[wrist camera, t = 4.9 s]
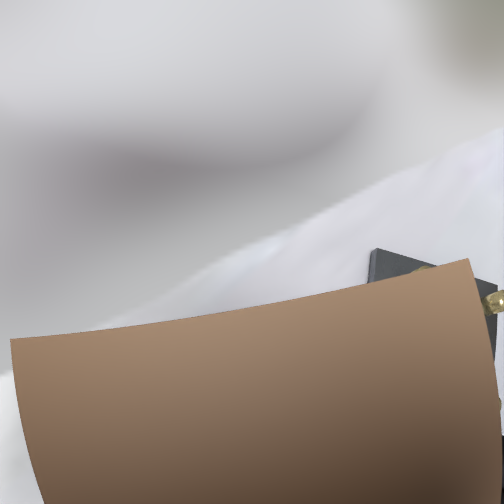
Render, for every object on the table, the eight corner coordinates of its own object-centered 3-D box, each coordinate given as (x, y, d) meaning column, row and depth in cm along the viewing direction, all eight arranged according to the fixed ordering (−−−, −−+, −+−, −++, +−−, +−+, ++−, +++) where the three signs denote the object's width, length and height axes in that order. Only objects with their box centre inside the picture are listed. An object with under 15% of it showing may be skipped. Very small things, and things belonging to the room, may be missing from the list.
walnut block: (302, 439, 14) (489, 574, 2) (201, 459, 13) (144, 666, 1) (282, 344, 15) (468, 258, 3) (180, 362, 15) (10, 338, 2)
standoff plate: (474, 434, 19) (507, 438, 15) (340, 433, 18) (365, 445, 15) (490, 288, 23) (520, 275, 19) (371, 252, 23) (397, 231, 19)
